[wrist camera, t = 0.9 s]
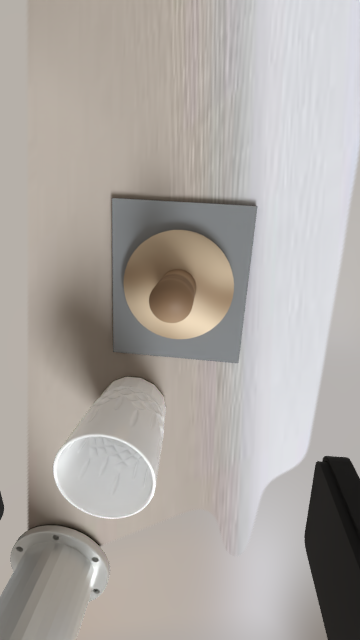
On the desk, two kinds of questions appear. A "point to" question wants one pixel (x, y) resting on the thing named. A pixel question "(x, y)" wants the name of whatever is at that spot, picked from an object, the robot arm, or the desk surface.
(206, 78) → the desk surface
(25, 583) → the robot arm
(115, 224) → the mat
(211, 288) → the lid
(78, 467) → the white cup
